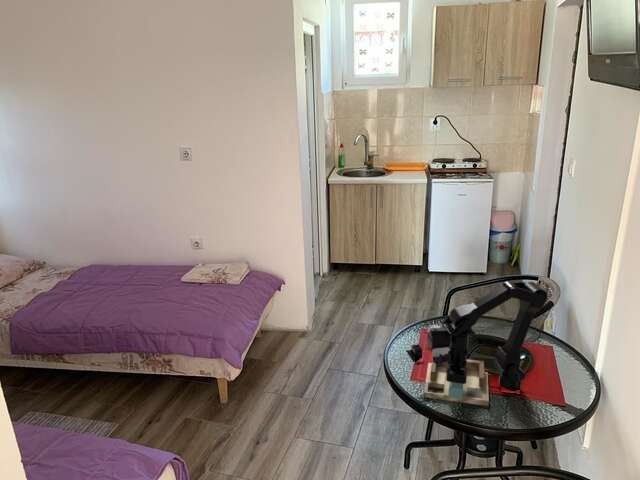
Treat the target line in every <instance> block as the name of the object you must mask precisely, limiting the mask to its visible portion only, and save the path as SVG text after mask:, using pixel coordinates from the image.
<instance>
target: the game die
mask: <svg viewBox="0 0 640 480" xmlns="http://www.w3.org/2000/svg"><path fill="white" fill-rule="evenodd" d="M430 328H444V326H443V325H438V324H435V323H433V322H431V325H430V327H429V328H428V329H427V330H426V331H424V334H426V335H427V334H428V332H429V331H430Z"/></svg>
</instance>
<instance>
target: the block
mask: <svg viewBox="0 0 640 480" xmlns="http://www.w3.org/2000/svg"><path fill="white" fill-rule="evenodd" d="M462 394H463V384H461V383H455V382H449V393H448V397H453V398H460V399H462Z"/></svg>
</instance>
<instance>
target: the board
mask: <svg viewBox="0 0 640 480" xmlns="http://www.w3.org/2000/svg"><path fill="white" fill-rule="evenodd" d="M431 365H432V362H428V363H427V369H426V370H427V371H426V377H425V384H424V391H423V398H427V397H429V399H436V400H441V401H449V402H456V403H462V404H463V403H464V404H471V405H478V406H485V407H489V402H490V397H489V377H488V375H489V374H488V373H489V372H485V371H484V387H481V386H479V371H472V370H466V372H467V378H466V383H465V384H463V394H462V399H460V398H453V397H448V393H449V382H448V381H447V380H446V378H447V369H448V368H447V367H439V366H436V374H435V380H430V375H431Z"/></svg>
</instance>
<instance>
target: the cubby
mask: <svg viewBox="0 0 640 480" xmlns="http://www.w3.org/2000/svg"><path fill="white" fill-rule="evenodd" d="M431 359H432V360H431V363H432V365H431V375H430V380H435V374H436V366H439V367H447V368H448V367H449V365H448V361H447V362H444V363H443V364H438V365H437V364H435V363H434V362H433V358H431ZM484 362H485V361H484V360H475V359H467V365H466V370H472V371H479V386H481V387H484V370H485V363H484Z"/></svg>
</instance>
